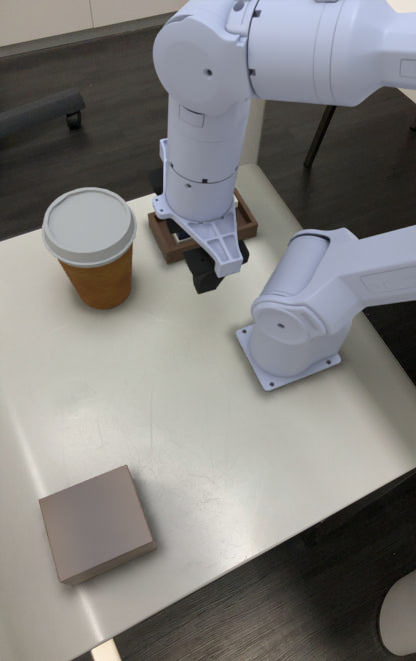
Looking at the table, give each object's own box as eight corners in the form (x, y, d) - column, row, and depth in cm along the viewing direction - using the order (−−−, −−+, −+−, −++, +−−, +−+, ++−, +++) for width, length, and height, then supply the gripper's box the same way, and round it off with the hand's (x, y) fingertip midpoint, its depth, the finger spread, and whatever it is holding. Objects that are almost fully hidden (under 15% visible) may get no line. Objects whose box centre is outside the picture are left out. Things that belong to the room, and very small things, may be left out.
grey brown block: (132, 477, 50) (126, 463, 46) (157, 548, 47) (153, 541, 43) (51, 510, 49) (38, 499, 44) (71, 586, 45) (59, 582, 41)
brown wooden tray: (234, 200, 69) (236, 187, 67) (256, 236, 66) (258, 224, 64) (148, 225, 66) (147, 213, 64) (167, 264, 63) (166, 252, 61)
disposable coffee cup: (130, 246, 64) (118, 174, 54) (155, 306, 60) (148, 240, 50) (55, 269, 62) (28, 197, 52) (76, 332, 58) (51, 269, 48)
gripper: (125, 104, 42) (131, 214, 54) (189, 240, 36) (180, 329, 48) (205, 89, 44) (193, 198, 56) (278, 216, 38) (248, 308, 50)
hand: (191, 258), depth 52 cm, fingers open, 7 cm apart
